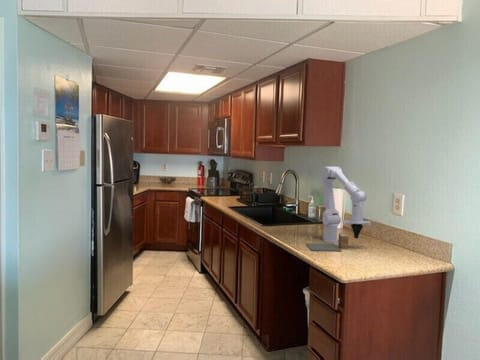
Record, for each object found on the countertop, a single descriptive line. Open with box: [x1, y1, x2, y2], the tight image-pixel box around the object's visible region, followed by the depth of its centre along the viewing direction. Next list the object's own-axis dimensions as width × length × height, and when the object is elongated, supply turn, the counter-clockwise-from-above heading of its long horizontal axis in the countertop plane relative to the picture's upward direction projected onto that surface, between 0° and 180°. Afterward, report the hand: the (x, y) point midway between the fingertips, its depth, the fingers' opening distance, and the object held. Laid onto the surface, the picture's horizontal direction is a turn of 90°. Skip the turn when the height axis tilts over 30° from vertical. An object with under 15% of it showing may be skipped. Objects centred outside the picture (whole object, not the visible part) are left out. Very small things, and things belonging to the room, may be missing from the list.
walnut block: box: [337, 232, 350, 250], centre depth 205 cm, size 4×4×8 cm
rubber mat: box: [305, 242, 342, 253], centre depth 205 cm, size 14×16×1 cm
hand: (356, 237), depth 205 cm, fingers closed
